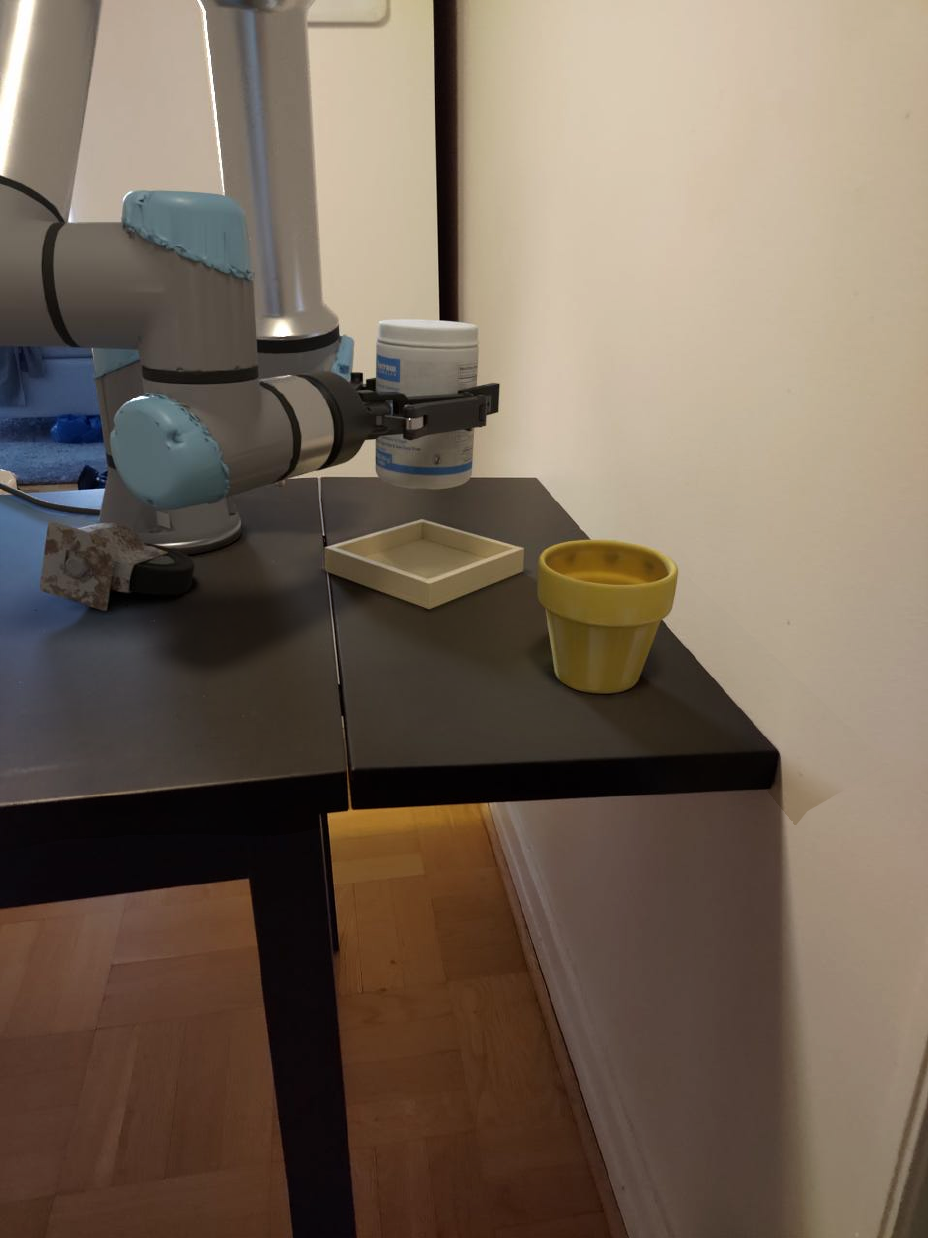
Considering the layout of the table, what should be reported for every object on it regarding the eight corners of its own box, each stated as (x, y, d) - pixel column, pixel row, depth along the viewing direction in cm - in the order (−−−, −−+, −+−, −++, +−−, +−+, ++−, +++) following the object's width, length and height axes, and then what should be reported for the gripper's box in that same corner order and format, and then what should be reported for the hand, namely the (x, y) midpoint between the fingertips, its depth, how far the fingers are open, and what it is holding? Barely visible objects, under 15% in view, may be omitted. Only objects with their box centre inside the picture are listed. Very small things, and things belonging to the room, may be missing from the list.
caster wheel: (201, 603, 85) (150, 628, 76) (98, 570, 86) (34, 591, 76) (213, 540, 83) (162, 557, 74) (108, 507, 84) (44, 520, 75)
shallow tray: (325, 571, 88) (324, 547, 87) (421, 540, 98) (421, 518, 97) (429, 609, 79) (429, 583, 78) (523, 571, 89) (524, 548, 88)
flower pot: (594, 721, 61) (608, 594, 57) (504, 667, 69) (511, 552, 65) (689, 685, 67) (707, 567, 63) (597, 638, 74) (608, 531, 70)
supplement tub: (360, 485, 81) (357, 323, 75) (396, 464, 89) (396, 316, 84) (457, 496, 79) (462, 329, 73) (485, 473, 87) (491, 322, 81)
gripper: (203, 452, 73) (360, 416, 91) (419, 493, 63) (548, 444, 81) (195, 362, 70) (359, 343, 88) (420, 390, 60) (554, 362, 78)
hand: (450, 391), depth 84 cm, fingers closed on supplement tub, 10 cm apart
